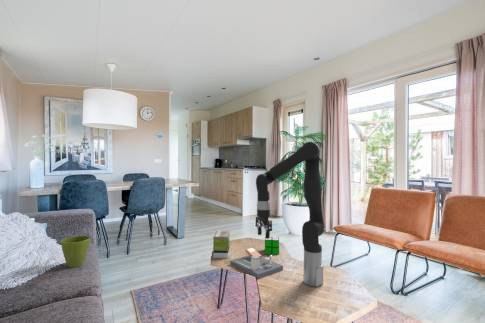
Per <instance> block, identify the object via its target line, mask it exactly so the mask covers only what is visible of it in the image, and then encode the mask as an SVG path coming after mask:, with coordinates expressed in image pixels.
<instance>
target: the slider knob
mask: <svg viewBox="0 0 485 323" xmlns="http://www.w3.org/2000/svg"><path fill="white" fill-rule="evenodd" d="M251 268H252V269H254V270H256V269H259V268H260V257H258V256H252V257H251Z"/></svg>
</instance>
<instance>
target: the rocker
mask: <svg viewBox="0 0 485 323" xmlns="http://www.w3.org/2000/svg"><path fill="white" fill-rule="evenodd" d="M245 253H246V254H247V255H250V256H251V257H252V256H258V257H260V258H261V257H262V255H261V253H260V252H258V251H257V249H255V248H254V247H250V248H246V249H245Z"/></svg>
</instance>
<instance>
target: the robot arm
mask: <svg viewBox="0 0 485 323" xmlns="http://www.w3.org/2000/svg"><path fill="white" fill-rule="evenodd" d="M320 155H321V149H320V145H318V144H317V143H316V142H313V141H307V142H305V143H304V144H303V145H302V146H300V147H299V149H297V150H296V151H295V152H294V153H292V154H291V155H290V156H288V157H287V158H285V159H283V160H282V161H280V162H278V163H276V164H275V165H274V166H272V167H271V168H270V169H269V170H267V171H266V172H264V173H261V174H260V173H259V174H258V175H257V176H256V178H255V186H256V192H257V201H256V216H255V227H256V228H257V235H258V236H262V232H263V230H262V227H263V229H264V230H265V236H266V239H268V238H270V236H271V234H270V232H273V220H269V218H270V217H271V201H270V196H271V195H270V191H269V189H268V186H269V185H270V184H271V183H273V182H275V181H276V180H277V179H279V178H281V177H282V176H284V175H286V174H288V173H289V172H290V171H291V170H293V169H294V168H295V167H296V166H299V164H301V163H303V162H304V163H305V170H304V177H303V195H304V200H305V202H306V204H307V208H308V210H309V220H307V221H305V222H304V223H303V224H302V229H301V234H302V235H301V236H302V237H301V238H302V239H301V241H302V245H303V283H304V284H305V285H307V286H309V287H315V288H318V287H320V286H322V285H324V265H322V263H323V262H322V261H323V260H322V259H323V258H322V257H323V256H322V255H323V252H322V251H323V246H322V245H321V244H320V243H319V237H321V236H322V235H323V234H324V232H325V224H324V217H323V216H324V214H323V204H322V203H323V202H322V201H323V198H322V181H321V180H322V179H321V172H320V157H321V156H320Z"/></svg>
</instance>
